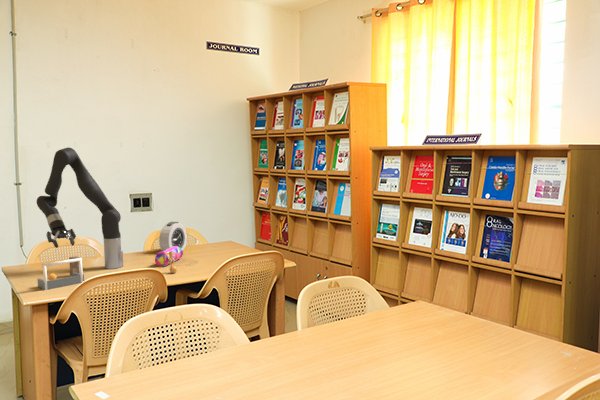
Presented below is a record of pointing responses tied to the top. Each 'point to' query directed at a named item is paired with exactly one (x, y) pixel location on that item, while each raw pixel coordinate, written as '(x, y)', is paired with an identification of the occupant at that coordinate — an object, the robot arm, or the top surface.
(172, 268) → the figurine
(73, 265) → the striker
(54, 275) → the ball
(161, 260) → the pencil case
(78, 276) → the grey basket with handle
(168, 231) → the alarm clock
